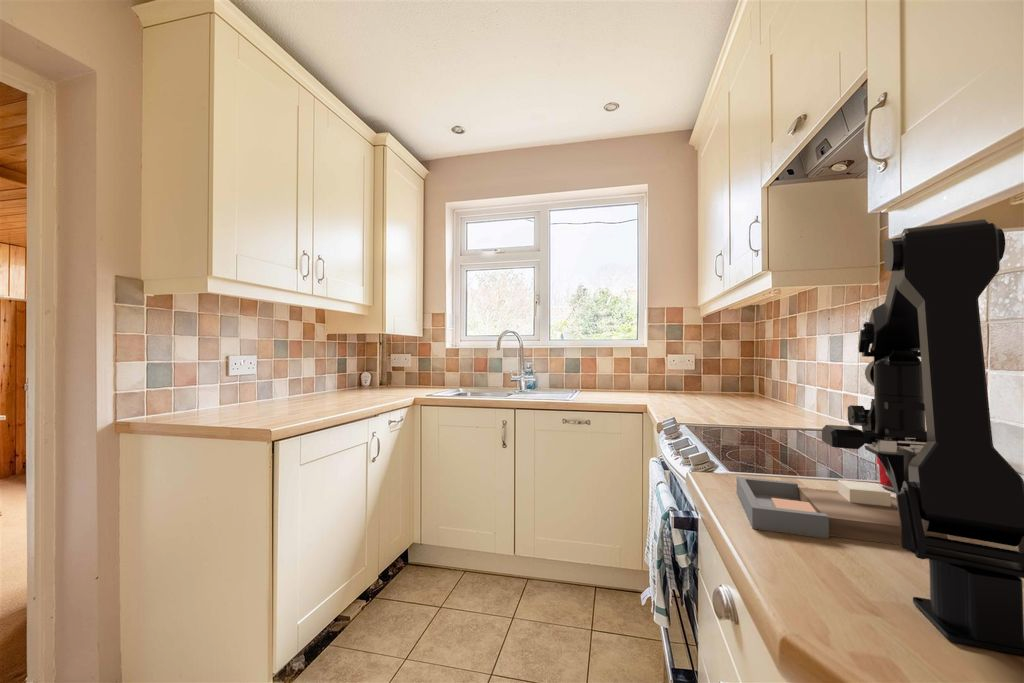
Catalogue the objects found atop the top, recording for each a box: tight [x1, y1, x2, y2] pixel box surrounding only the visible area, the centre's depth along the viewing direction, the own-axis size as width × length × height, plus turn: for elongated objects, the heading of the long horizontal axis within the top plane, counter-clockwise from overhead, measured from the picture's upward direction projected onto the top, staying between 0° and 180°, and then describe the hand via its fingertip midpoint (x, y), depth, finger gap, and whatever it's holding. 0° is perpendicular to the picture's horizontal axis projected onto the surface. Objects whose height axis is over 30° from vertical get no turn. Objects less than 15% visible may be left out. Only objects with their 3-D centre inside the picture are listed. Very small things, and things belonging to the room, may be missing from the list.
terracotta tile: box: [771, 498, 816, 512], centre depth 63 cm, size 5×5×2 cm
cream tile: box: [837, 479, 892, 506], centre depth 66 cm, size 5×5×2 cm
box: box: [735, 476, 830, 540], centre depth 66 cm, size 16×9×3 cm, turn 159°
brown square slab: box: [798, 486, 949, 546], centre depth 62 cm, size 14×13×2 cm
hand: (901, 496), depth 64 cm, fingers closed
